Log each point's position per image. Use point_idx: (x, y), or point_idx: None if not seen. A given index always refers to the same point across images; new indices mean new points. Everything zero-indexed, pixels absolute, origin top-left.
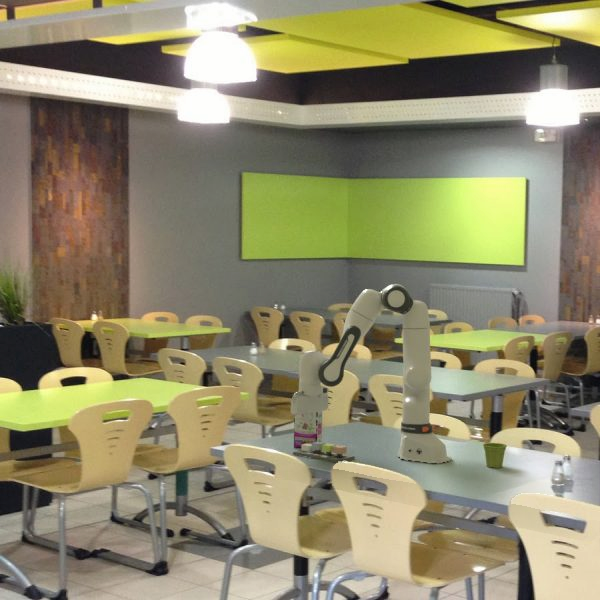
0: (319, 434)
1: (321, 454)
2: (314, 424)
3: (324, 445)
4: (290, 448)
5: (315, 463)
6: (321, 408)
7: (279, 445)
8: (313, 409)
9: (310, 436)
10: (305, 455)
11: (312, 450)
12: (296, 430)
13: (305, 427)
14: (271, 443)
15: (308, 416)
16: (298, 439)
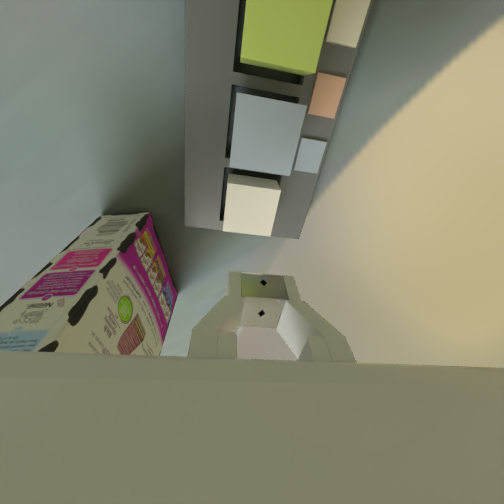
0: (91, 249)
1: (289, 86)
2: (99, 306)
3: (322, 42)
4: (199, 293)
5: (469, 8)
6: (17, 398)
7: (185, 333)
8: (278, 408)
9: (140, 273)
10: (319, 167)
11: (248, 177)
12: (158, 343)
13: (136, 328)
14: (178, 356)
15: (323, 330)
16: (166, 304)
